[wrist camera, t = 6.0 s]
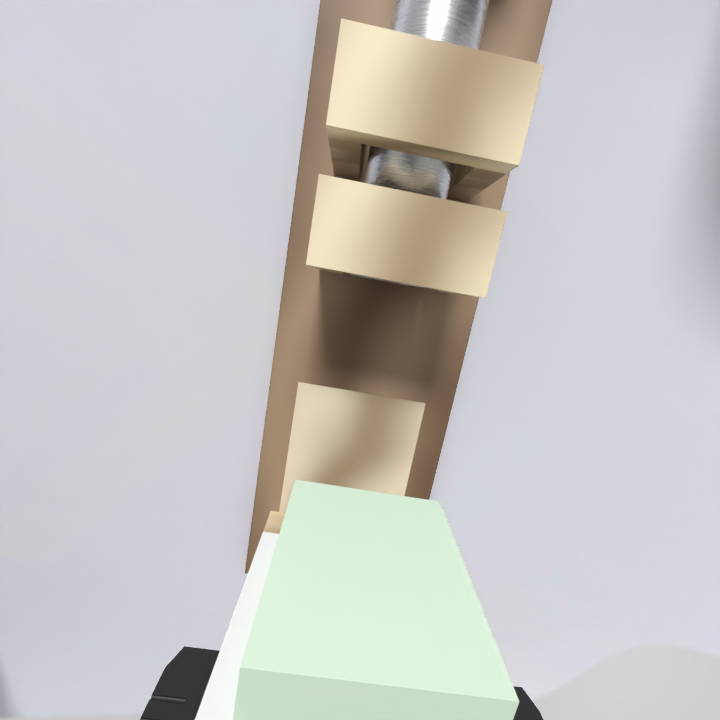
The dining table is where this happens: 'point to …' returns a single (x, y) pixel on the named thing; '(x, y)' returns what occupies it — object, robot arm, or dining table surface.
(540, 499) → the dining table surface
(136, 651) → the dining table surface
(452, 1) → the shaft
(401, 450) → the jig
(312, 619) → the block
